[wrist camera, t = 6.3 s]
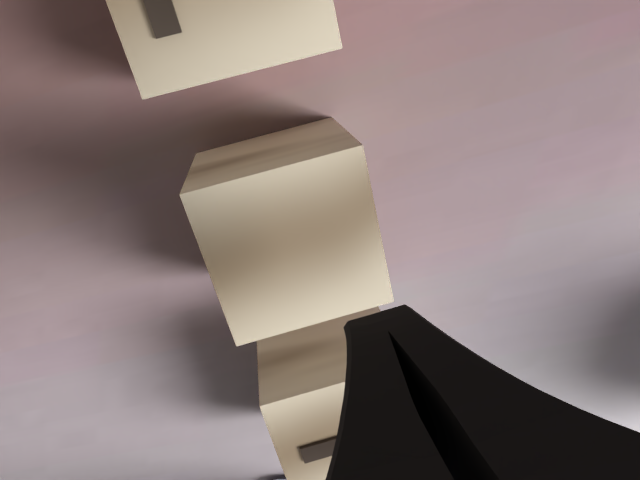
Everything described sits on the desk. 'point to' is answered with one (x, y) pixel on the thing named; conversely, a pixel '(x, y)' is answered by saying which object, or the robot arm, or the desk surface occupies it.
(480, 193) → the desk surface
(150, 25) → the birch block marked 7
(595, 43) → the desk surface
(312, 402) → the birch block marked 1
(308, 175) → the plain birch block
